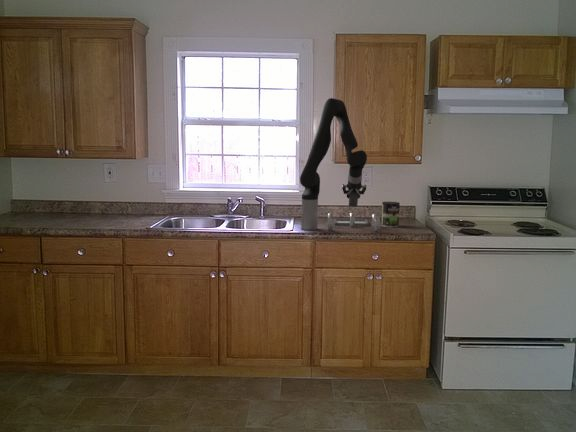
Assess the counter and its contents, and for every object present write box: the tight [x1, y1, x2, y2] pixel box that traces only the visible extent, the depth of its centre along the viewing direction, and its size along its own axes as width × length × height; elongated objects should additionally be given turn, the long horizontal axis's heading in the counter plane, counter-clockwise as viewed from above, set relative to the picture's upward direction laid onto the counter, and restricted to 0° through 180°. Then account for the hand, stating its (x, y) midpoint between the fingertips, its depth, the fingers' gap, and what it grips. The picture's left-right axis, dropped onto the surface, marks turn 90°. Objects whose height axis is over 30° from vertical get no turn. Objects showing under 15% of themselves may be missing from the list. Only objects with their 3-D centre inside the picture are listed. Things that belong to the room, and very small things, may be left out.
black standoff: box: [348, 191, 359, 207], centre depth 314 cm, size 5×5×10 cm
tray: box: [333, 218, 370, 227], centre depth 335 cm, size 20×18×2 cm
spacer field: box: [327, 212, 381, 233], centre depth 315 cm, size 29×18×8 cm, turn 87°
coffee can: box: [381, 201, 400, 228], centre depth 327 cm, size 10×10×14 cm
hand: (353, 197), depth 316 cm, fingers closed on black standoff, 5 cm apart
